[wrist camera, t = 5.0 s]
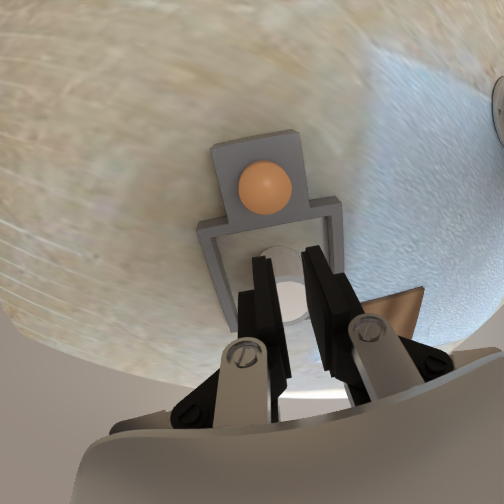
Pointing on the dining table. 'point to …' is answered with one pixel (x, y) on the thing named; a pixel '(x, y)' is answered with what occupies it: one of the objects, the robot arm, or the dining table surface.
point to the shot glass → (288, 284)
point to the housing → (242, 219)
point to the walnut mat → (398, 310)
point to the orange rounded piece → (264, 187)
